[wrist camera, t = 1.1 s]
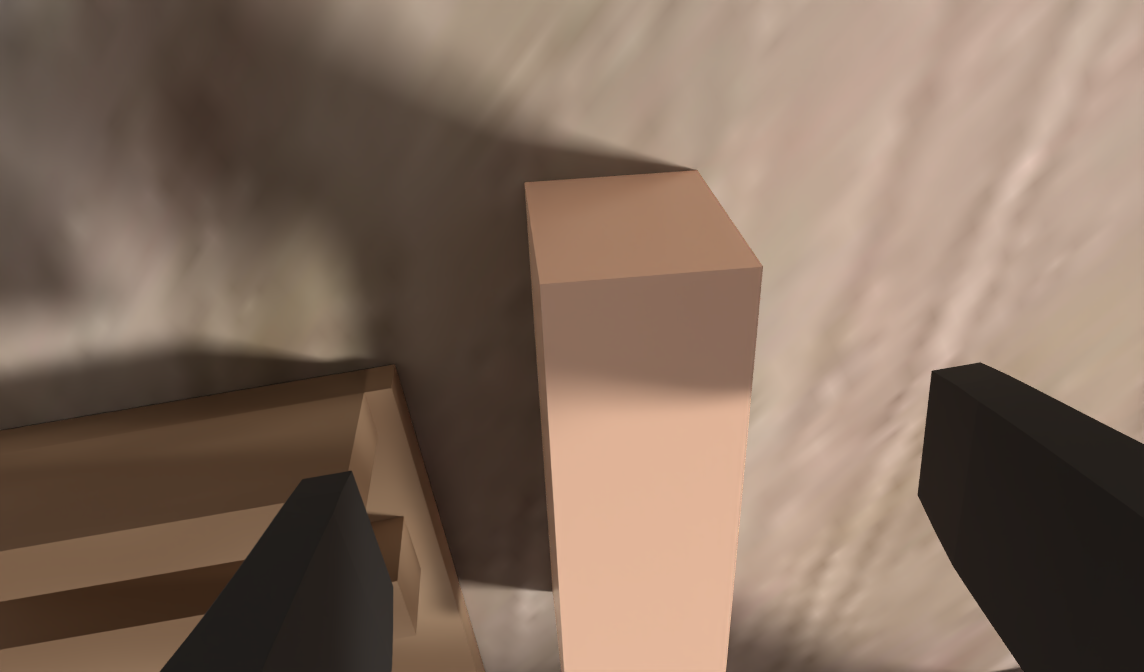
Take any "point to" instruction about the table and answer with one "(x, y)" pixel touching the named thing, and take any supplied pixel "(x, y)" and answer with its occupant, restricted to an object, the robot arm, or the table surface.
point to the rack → (207, 520)
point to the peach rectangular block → (642, 414)
